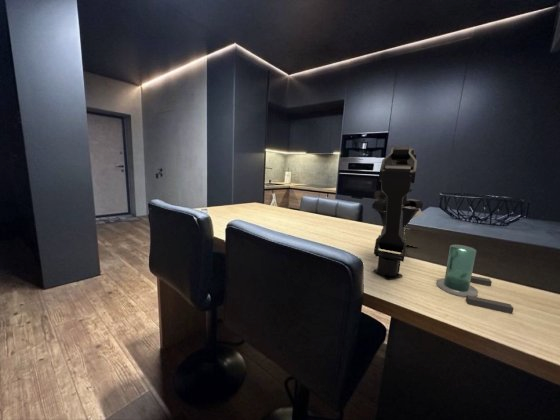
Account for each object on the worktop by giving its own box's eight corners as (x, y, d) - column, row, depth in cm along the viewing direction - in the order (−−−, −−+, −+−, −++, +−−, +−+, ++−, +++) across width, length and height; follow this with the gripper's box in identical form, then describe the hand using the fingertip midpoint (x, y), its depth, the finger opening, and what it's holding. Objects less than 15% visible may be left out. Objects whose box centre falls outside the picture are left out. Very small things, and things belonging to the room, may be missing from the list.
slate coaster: (463, 300, 64) (463, 298, 64) (428, 283, 73) (428, 281, 73) (485, 293, 68) (486, 291, 68) (449, 277, 77) (450, 276, 77)
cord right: (467, 303, 63) (468, 298, 63) (465, 300, 65) (466, 295, 64) (512, 313, 59) (513, 308, 59) (508, 309, 61) (510, 304, 61)
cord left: (455, 279, 76) (455, 275, 76) (453, 276, 78) (454, 272, 78) (490, 286, 72) (491, 281, 72) (488, 283, 74) (489, 278, 74)
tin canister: (460, 293, 67) (468, 253, 64) (439, 283, 72) (445, 245, 70) (473, 289, 69) (481, 250, 67) (452, 279, 74) (458, 243, 72)
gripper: (400, 182, 95) (395, 220, 98) (363, 183, 88) (359, 224, 91) (426, 185, 85) (420, 227, 88) (386, 186, 78) (381, 232, 81)
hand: (394, 227), depth 87 cm, fingers open, 9 cm apart
